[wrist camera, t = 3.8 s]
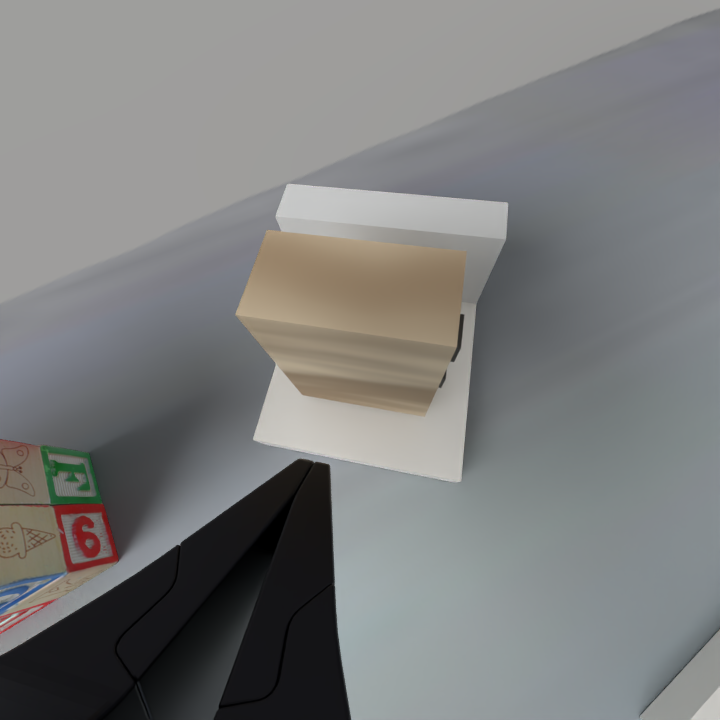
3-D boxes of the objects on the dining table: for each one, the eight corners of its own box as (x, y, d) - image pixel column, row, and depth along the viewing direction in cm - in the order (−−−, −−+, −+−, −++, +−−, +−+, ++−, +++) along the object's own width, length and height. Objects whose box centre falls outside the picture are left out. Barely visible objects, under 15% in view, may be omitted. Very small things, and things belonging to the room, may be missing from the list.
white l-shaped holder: (454, 482, 17) (493, 474, 11) (263, 444, 18) (201, 417, 12) (473, 285, 21) (508, 199, 15) (315, 266, 22) (288, 180, 16)
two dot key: (433, 418, 16) (472, 349, 8) (302, 395, 17) (235, 315, 9) (440, 359, 17) (481, 253, 10) (316, 340, 18) (267, 230, 10)
